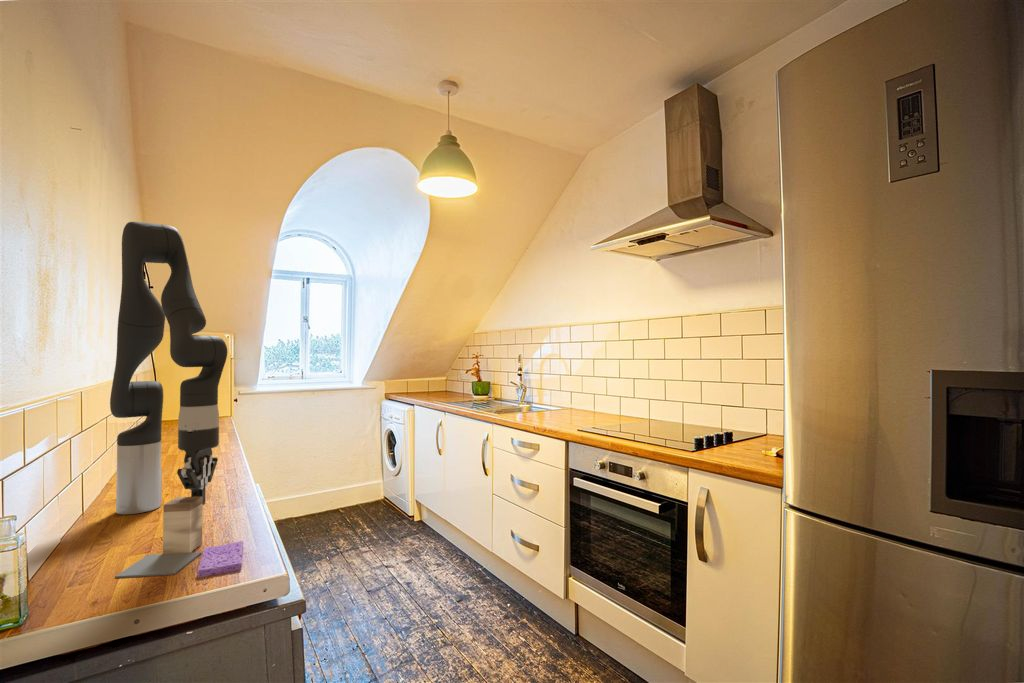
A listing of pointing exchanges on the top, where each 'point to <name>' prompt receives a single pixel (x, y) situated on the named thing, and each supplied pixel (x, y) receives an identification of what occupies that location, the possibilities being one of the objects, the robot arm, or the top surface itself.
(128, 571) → the mat
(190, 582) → the top surface
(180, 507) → the birch block
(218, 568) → the sponges
